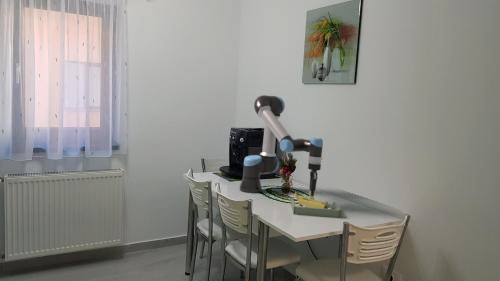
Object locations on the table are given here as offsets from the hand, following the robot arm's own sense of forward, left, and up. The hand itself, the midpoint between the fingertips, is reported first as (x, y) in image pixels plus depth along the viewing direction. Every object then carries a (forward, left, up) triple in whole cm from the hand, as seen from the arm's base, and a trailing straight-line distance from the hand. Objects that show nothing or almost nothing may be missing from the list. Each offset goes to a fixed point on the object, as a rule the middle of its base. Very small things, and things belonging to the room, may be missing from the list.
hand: (311, 200), depth 231 cm
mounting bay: (+16, 0, -2) cm, 16 cm away
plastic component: (+7, -1, -2) cm, 7 cm away
